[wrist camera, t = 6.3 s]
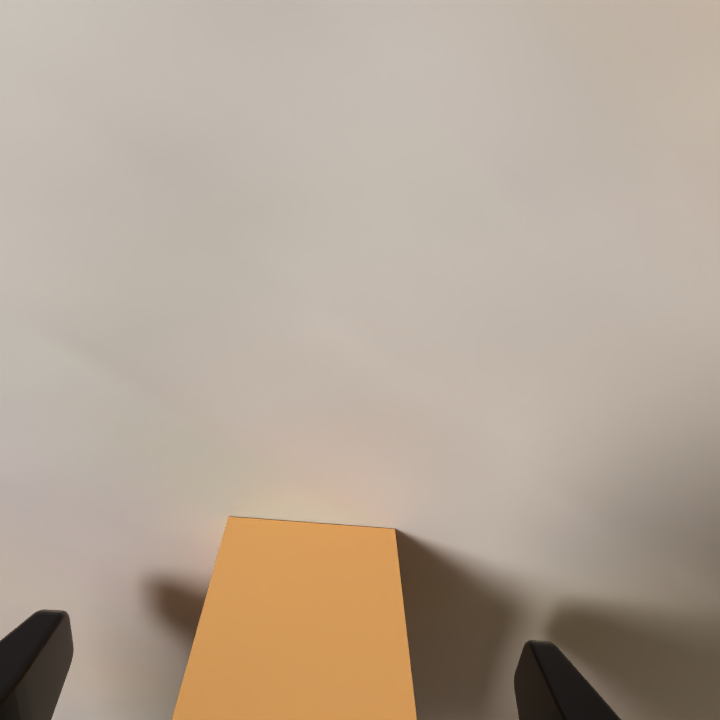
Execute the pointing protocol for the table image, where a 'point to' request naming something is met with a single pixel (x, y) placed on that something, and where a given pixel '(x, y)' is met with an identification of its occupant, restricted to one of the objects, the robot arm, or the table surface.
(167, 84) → the table surface
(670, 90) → the table surface
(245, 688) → the orange and grey dumbbell
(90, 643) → the table surface
